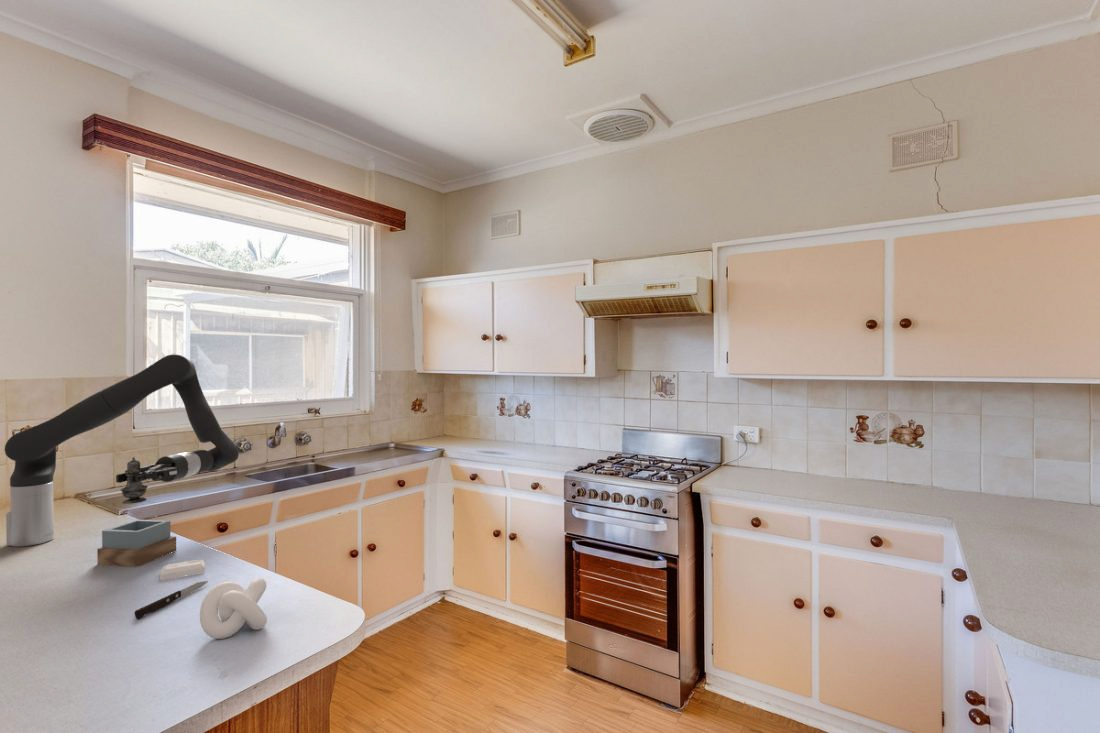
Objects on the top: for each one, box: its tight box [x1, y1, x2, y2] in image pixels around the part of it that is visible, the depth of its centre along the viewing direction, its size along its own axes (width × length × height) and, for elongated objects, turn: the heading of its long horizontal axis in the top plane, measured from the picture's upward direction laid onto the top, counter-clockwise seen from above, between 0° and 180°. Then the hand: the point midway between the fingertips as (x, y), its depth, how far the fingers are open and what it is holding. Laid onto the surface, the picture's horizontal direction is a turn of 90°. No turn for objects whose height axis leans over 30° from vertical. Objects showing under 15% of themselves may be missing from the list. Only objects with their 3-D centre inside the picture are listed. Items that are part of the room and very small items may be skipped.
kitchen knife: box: [134, 580, 209, 620], centre depth 119 cm, size 18×1×2 cm, turn 169°
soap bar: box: [159, 559, 206, 581], centre depth 135 cm, size 5×9×3 cm, turn 122°
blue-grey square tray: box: [101, 519, 171, 549], centre depth 147 cm, size 10×10×4 cm
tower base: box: [96, 535, 177, 568], centre depth 146 cm, size 12×12×4 cm
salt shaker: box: [120, 457, 148, 505], centre depth 147 cm, size 6×6×12 cm
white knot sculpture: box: [199, 577, 268, 640], centre depth 107 cm, size 11×12×9 cm
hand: (124, 479), depth 144 cm, fingers closed on salt shaker, 3 cm apart
